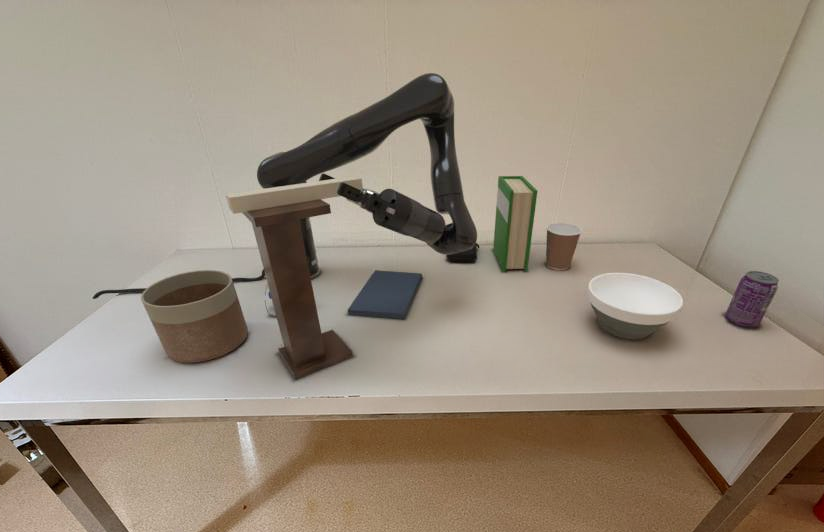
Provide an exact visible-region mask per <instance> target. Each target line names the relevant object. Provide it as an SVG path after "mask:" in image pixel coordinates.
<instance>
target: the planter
mask: <svg viewBox="0 0 824 532" xmlns="http://www.w3.org/2000/svg"><path fill="white" fill-rule="evenodd" d="M232 278H233V277H232V276H231V275H230V274H229V273H227V272H224V271H221V270H216V269H201V270H191V271H186V272H181V273H177V274H174V275H170V276H167V277H165V278H162V279H160V280H158V281H156V282H154V283H152V284H151V285H149V286H148V287H146V288H147V289H146V290H145V291H144V292H141V295H140V301H141V303H142V305H143V307H144V309H145V311H146V314H147V316H148V318H149V320H150V322H151V324H152V326H153V329H154V330H155V333H156V335H157V337H158V339H159V341H160V344H161V346H162V348H163V350H164V353H165V354H166V356H167V357H168V358H169V359H170V360H173V361H174V362H175V361H176V362H179V363H180V362H181V363H199V362H200V363H201V362H205V361H210V360H213V359H216V358H219V357H222V356H224V355H226V354H228V353H230V352H231V351H233V350H235V349H236V348H238V347H239V346H241V344H242V343H244V342H245V340H246V338H247V336H248V334H249V328H248V326H247V325H248V324H247V322H246V319H245V316H244V312H243V308H242V306H241V303H240V299H239V297H238V294H237V290H236V287H235V283H234V282H233V280H232Z"/></svg>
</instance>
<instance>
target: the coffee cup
mask: <svg viewBox="0 0 824 532" xmlns="http://www.w3.org/2000/svg"><path fill="white" fill-rule="evenodd" d="M545 229H546V242H545V243H546V247H545V260H546V267H548V268H550V269H552V270H555V271H564V270H567V269H569V268H570V266H571V264H572V261H573V258H574V254H575V252H576V249H577V245H578V242H579V239H580V236H581V234H582V233H583V229H582V228H581V227H580V226H578V225H576V224H572V223H569V222H568V223H567V222H552V223H549V224H547V225H546V227H545Z"/></svg>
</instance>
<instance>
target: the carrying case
mask: <svg viewBox="0 0 824 532" xmlns="http://www.w3.org/2000/svg"><path fill="white" fill-rule="evenodd" d="M477 249H480V244H479V243H478V242H476V244H475V245H474V247H473V248H472V249H470V250H466V251H462V252H458V253H455V254H451V255H445V256H446V259H447V260H448V261H449V262H452V263H453V262H456V263H457V262H458V263H473V262H475V260H477V259H478V250H477Z"/></svg>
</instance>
